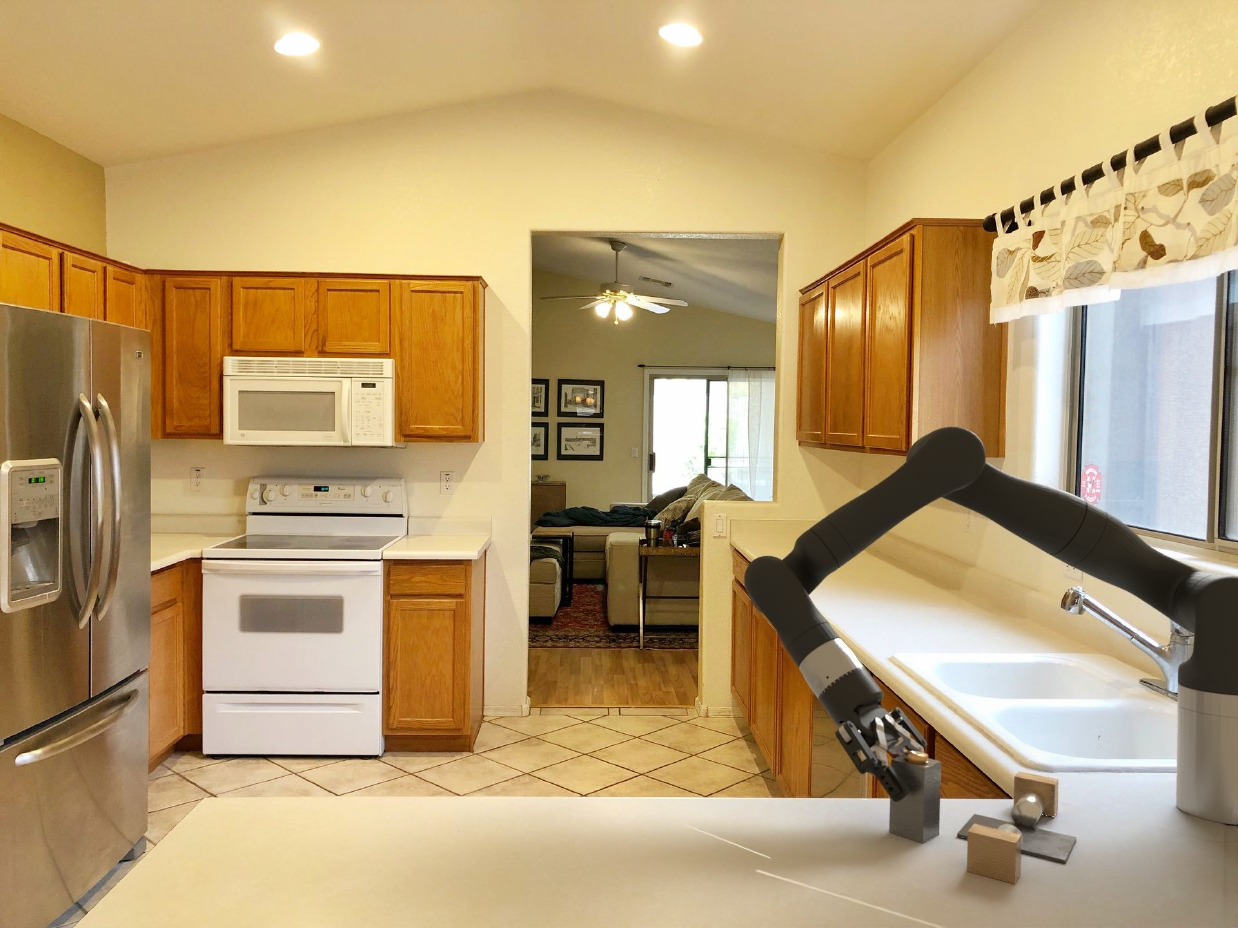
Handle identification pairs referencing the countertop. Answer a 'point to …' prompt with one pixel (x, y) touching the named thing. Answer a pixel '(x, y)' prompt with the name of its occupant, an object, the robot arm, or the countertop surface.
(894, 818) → the gold-capped grey pillar
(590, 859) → the countertop surface
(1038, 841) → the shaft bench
